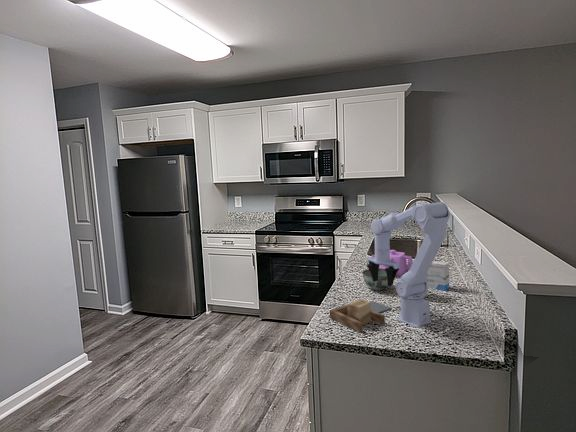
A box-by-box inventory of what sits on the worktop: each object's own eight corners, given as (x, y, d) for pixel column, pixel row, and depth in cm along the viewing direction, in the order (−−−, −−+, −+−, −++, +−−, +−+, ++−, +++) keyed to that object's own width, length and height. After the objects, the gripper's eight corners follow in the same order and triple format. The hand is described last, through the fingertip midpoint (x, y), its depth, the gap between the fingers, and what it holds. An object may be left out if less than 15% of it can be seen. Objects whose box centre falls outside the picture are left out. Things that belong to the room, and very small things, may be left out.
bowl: (398, 288, 164) (398, 270, 163) (384, 296, 154) (384, 278, 153) (371, 283, 173) (371, 266, 172) (357, 290, 163) (356, 273, 162)
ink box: (449, 288, 160) (449, 262, 159) (445, 291, 156) (445, 265, 155) (430, 285, 166) (430, 260, 165) (425, 287, 162) (425, 262, 161)
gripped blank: (371, 320, 129) (370, 302, 128) (359, 327, 125) (358, 307, 124) (359, 317, 133) (359, 299, 132) (347, 323, 128) (347, 304, 127)
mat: (391, 309, 139) (391, 307, 139) (372, 315, 134) (372, 314, 134) (372, 302, 148) (372, 300, 147) (354, 307, 142) (354, 306, 142)
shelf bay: (384, 323, 126) (384, 315, 126) (359, 332, 120) (359, 323, 120) (354, 310, 139) (353, 303, 139) (330, 318, 133) (329, 310, 133)
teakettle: (387, 279, 177) (387, 255, 176) (370, 271, 194) (370, 248, 192) (417, 275, 182) (417, 251, 181) (398, 267, 198) (397, 245, 197)
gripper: (404, 250, 136) (404, 285, 138) (375, 245, 148) (375, 277, 150) (391, 253, 132) (392, 289, 134) (363, 247, 144) (363, 280, 146)
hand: (382, 283), depth 141 cm, fingers open, 7 cm apart
